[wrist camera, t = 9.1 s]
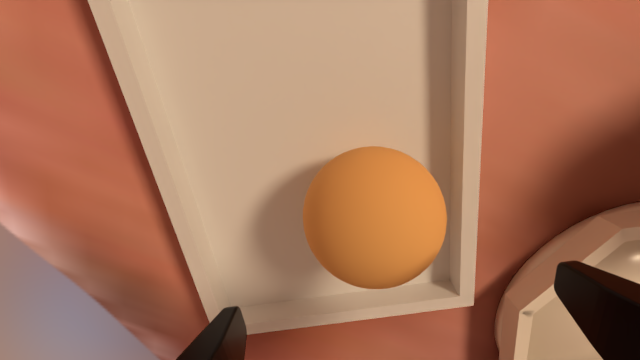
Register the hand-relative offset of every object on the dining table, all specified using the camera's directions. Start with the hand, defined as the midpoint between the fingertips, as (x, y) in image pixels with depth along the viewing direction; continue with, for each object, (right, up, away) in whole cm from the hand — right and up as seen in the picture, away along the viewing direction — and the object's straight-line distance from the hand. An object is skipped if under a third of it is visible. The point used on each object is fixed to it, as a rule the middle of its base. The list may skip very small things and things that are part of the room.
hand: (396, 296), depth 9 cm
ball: (0, +2, +5) cm, 5 cm away
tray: (-2, +5, +7) cm, 9 cm away
